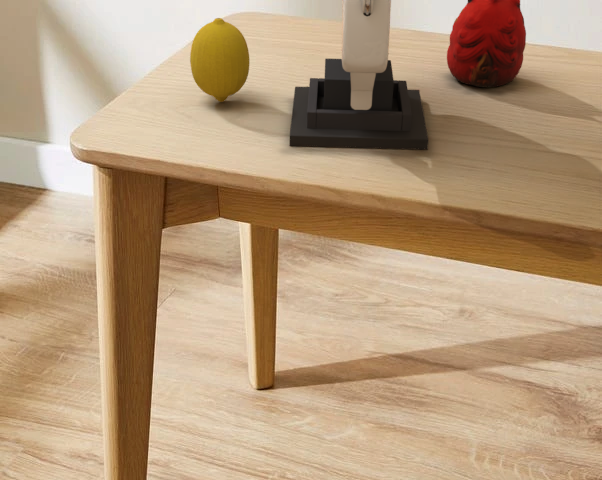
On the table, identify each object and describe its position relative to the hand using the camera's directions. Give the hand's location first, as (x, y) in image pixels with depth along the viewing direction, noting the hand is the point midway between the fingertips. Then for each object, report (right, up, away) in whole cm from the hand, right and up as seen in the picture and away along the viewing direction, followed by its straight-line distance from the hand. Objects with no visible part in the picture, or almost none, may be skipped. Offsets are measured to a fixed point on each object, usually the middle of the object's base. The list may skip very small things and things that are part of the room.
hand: (360, 87), depth 88 cm
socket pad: (0, -3, +2) cm, 3 cm away
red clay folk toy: (+13, +3, +12) cm, 18 cm away
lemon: (-13, 0, +5) cm, 14 cm away
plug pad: (0, -2, +1) cm, 2 cm away
